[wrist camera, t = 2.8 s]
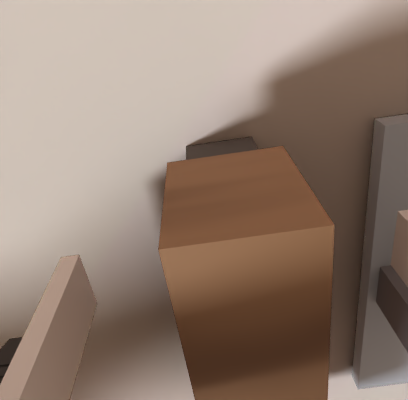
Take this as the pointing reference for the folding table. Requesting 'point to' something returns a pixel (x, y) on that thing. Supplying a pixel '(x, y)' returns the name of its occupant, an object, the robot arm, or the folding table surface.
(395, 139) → the grey ridged block
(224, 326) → the walnut bar
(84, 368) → the folding table surface
